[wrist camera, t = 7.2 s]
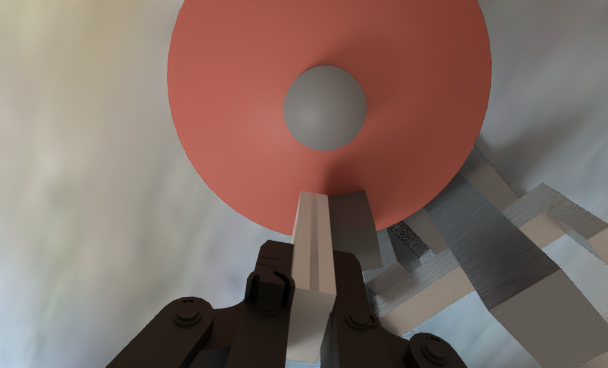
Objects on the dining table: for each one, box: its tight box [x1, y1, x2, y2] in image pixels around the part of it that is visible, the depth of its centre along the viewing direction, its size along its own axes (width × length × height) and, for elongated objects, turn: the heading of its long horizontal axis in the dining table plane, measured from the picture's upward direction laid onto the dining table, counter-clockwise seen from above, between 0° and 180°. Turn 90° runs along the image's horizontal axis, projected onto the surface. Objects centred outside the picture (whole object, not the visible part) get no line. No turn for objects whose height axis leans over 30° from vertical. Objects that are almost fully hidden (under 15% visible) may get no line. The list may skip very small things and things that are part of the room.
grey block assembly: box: [363, 144, 608, 368], centre depth 23 cm, size 12×9×13 cm
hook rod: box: [365, 183, 608, 337], centre depth 22 cm, size 18×3×7 cm, turn 135°
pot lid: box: [167, 0, 492, 271], centre depth 14 cm, size 14×14×5 cm
